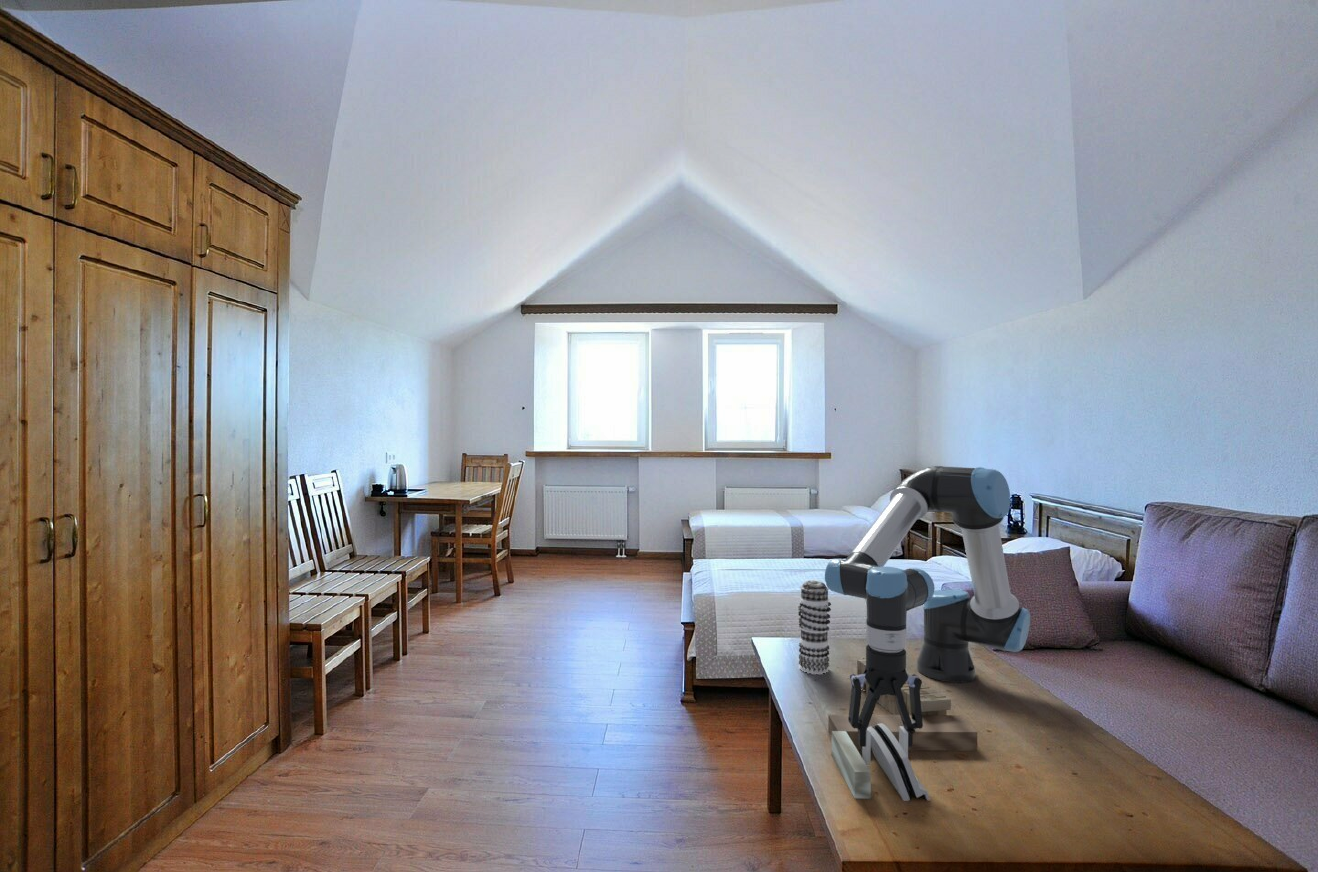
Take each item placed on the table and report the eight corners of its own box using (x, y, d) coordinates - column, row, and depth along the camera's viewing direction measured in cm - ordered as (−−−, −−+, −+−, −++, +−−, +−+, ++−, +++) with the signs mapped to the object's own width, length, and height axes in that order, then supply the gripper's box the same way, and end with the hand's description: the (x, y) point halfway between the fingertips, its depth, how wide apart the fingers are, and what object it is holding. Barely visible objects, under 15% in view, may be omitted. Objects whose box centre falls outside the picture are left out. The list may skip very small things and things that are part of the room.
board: (959, 732, 145) (959, 711, 144) (1025, 799, 119) (1025, 773, 118) (819, 732, 145) (819, 710, 145) (854, 798, 119) (854, 772, 119)
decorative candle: (834, 675, 178) (835, 586, 178) (801, 675, 178) (802, 586, 178) (826, 663, 187) (826, 578, 187) (794, 662, 187) (795, 578, 187)
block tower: (854, 689, 172) (921, 736, 143) (853, 657, 172) (920, 699, 143) (880, 686, 173) (951, 733, 145) (879, 655, 173) (951, 696, 145)
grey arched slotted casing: (931, 801, 118) (913, 751, 118) (907, 810, 118) (889, 759, 118) (897, 755, 134) (881, 711, 134) (876, 762, 135) (860, 718, 134)
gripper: (842, 653, 122) (840, 771, 122) (943, 653, 122) (942, 772, 122) (831, 640, 129) (830, 752, 130) (927, 640, 130) (926, 752, 130)
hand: (884, 761), depth 126 cm, fingers open, 7 cm apart
